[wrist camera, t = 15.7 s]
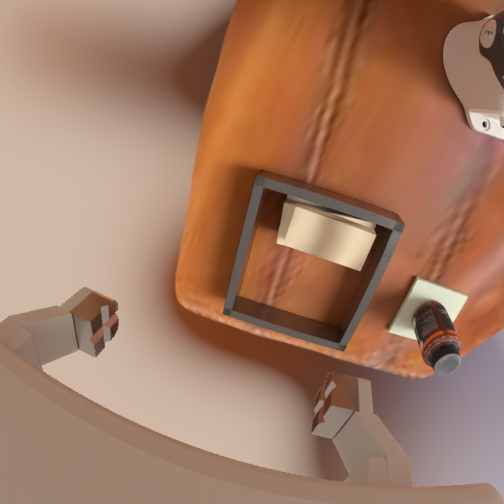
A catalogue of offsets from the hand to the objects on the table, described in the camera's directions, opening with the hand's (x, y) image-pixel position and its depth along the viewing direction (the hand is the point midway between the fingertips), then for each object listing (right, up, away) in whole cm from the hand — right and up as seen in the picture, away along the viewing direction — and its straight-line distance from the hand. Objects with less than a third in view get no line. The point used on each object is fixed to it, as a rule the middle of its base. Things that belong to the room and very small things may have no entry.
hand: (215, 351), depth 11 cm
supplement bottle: (+29, -6, +32) cm, 43 cm away
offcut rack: (+9, +2, +33) cm, 35 cm away
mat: (+29, -6, +32) cm, 44 cm away
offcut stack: (+11, +7, +31) cm, 34 cm away
